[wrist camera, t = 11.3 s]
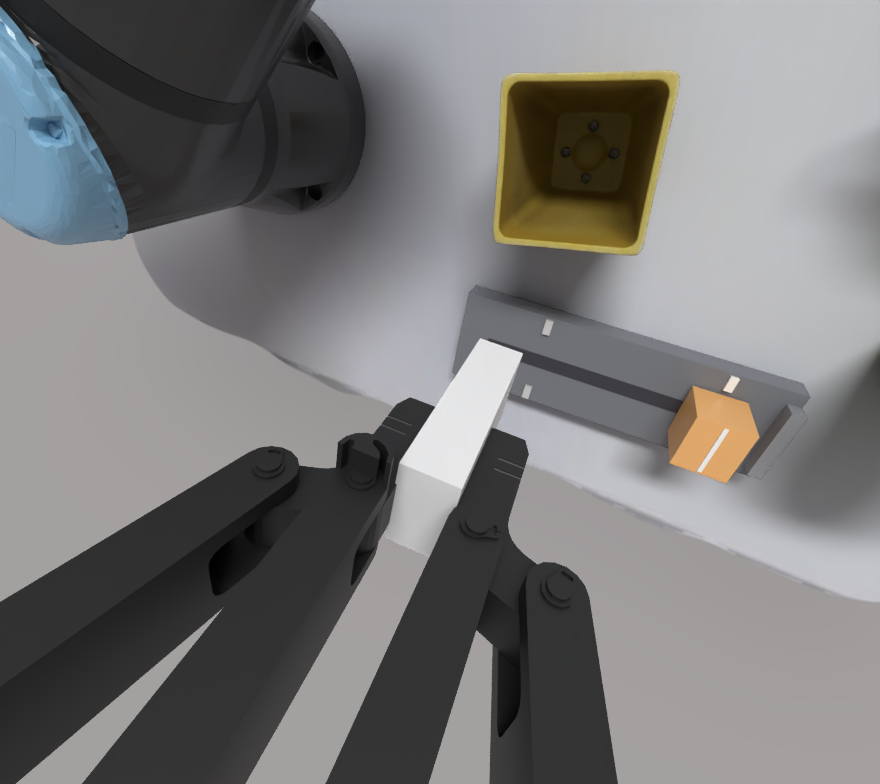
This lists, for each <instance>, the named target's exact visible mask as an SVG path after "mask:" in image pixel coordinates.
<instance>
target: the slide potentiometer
mask: <svg viewBox="0 0 880 784" xmlns="http://www.w3.org/2000/svg"><path fill="white" fill-rule="evenodd" d="M480 338H481V339H484V340H487V341H489V342H492V343H495V344H498V345H501V346H504V347H506V348H509V349H512V350H515V351H518V352H521V353H523V355H522V358H521V361H520V364H519V367H518V370H517V373H516V375H515V378H514V381H513V384H512V387H511V390H510V393H511V394H514V395H517V396H520V397H522V398H525V399H528V400H531V401H534V402H537V403H540V404H543V405H545V406H548V407H551V408H554V409H557V410H560V411H563V412H566V413H569V414H571V415H574V416H577V417H580V418H583V419H586V420H589V421H592V422H595V423H597V424H600V425H603V426H606V427H609V428H612V429H615V430H618V431H621V432H623V433H626V434H629V435H632V436H635V437H638V438H641V439H644V440H646V441H649V442H652V443H655V444H658V445H661V446H664V447H667V448H669V446H668V428H669V426H670V425H671V423H672V421H673V419H674V418H675V416H676V414H677V412H678V411H679V409H680V407H681V405H682V404H683V402H684V400H685V398H686V397H687V395H688V393H689V391H690V390H691V388H692V386H696V387H699V388H702V389H705V390H708V391H712V392H715V393H718V394H721V395H724V396H727V397H731V398H734V399H737V400H740V401H743V402H746V403H748V404H749V407H750V410H751V413H752V416H753V419H754V422H755V425H756V428H757V431H758V434H759V439H758V440H757V441H756V443H755V444H754V446H753V447H752V448H751V450H750V451H749V453H748V454H747V455H746V457H745V458H744V459H743V461H742V462H741V464H740V465H739V466H738V468H737V469H736V470H735V471H736V472H739V473H742V474H745V475H747V476H751V477H754V478H757V479H760V480H761V479H762V477H763V476H764V475H765V473H766V472H767V471H768V470H769V468H770V467H771V466H772V464H773V463H774V462H775V461H776V459H777V458H778V457H779V455H780V454H781V453H782V452H783V450H784V449H785V448H786V446H787V445H788V444H789V443H790V441H791V440H792V439H793V437H794V436H795V435H796V434H797V432H798V431H799V430H800V428H801V427H802V426H803V425H804V423H805V422H806V421H807V417H806V415H805V413H804V411H803V409H802V408H803V406H804V405H805V404H806V402H807V401H808V400H809V398H810V395H809V393H808V392H807V390H806V388H805V386H804V384H803V383H799V382H796V381H793V380H789V379H786V378H783V377H779V376H776V375H773V374H769V373H766V372H763V371H759V370H756V369H753V368H749V367H746V366H743V365H739V364H736V363H733V362H729V361H726V360H723V359H719V358H716V357H713V356H709V355H706V354H703V353H699V352H696V351H693V350H689V349H686V348H683V347H679V346H676V345H673V344H669V343H666V342H663V341H659V340H656V339H653V338H649V337H646V336H643V335H639V334H636V333H633V332H629V331H626V330H623V329H619V328H616V327H613V326H610V325H606V324H603V323H600V322H596V321H593V320H590V319H586V318H583V317H580V316H576V315H573V314H570V313H566V312H563V311H560V310H556V309H553V308H550V307H546V306H543V305H540V304H536V303H533V302H530V301H526V300H523V299H520V298H516V297H513V296H510V295H506V294H503V293H500V292H496V291H493V290H490V289H486V288H483V287H480V286H475V287H474V288H473V289H472V290H471V291H470V292H469V295H468V300H467V305H466V310H465V314H464V319H463V324H462V329H461V334H460V338H459V343H458V348H457V353H456V357H455V362H454V367H453V372H452V373H453V374H456V375H457V373H458V372H459V370H460V369H461V367H462V365H463V364H464V362H465V361H466V359H467V358H468V356H469V355H470V353H471V352H472V350H473V349H474V347H475V345H476V344H477V342H478V341H479V339H480Z"/></svg>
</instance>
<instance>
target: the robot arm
mask: <svg viewBox="0 0 880 784" xmlns="http://www.w3.org/2000/svg"><path fill="white" fill-rule="evenodd" d="M314 2H315V0H0V217H1V218H2V219H3V220H5V221H6V222H7V223H9V224H10V225H12V226H13V227H15V228H16V229H18V230H20V231H22V232H24V233H25V234H27V235H29V236H32V237H35V238H38V239H41V240H46V241H48V242H51V243H54V244H60V245H72V244H80V243H88V242H95V241H104V240H117V239H122V238H123V237H125V236H126V234H130V233H134V232H137V231H141V230H145V229H149V228H153V227H157V226H161V225H165V224H169V223H173V222H177V221H181V220H184V219H188V218H192V217H196V216H200V215H204V214H208V213H212V212H216V211H220V210H224V209H227V208H231V207H235V206H239V205H241V206H246V207H250V208H255V209H260V210H264V211H269V212H274V213H279V214H299V213H304V212H308V211H311V210H314V209H317V208H320V207H323V206H325V205H327V204H329V203H331V202H332V201H334V200H335V199H336V198H337V197H339V196H340V195H341V194H342V193H343V191H344V190H345V189H346V188H347V186H348V185H349V184H350V182H351V180H352V179H353V177H354V175H355V173H356V170H357V168H358V165H359V162H360V159H361V155H362V150H363V144H364V136H365V115H364V106H363V99H362V94H361V90H360V86H359V82H358V79H357V76H356V73H355V70H354V68H353V65H352V63H351V61H350V59H349V57H348V55H347V53H346V51H345V49H344V47H343V46H342V44H341V42H340V41H339V39H338V38H337V37H336V35H335V34H334V33H333V31H332V30H331V29H330V28H329V27H328V25H327V24H326V23H325V22H324V21H323V20H322V19H321V18H320V17H318V16H317V15H316V14H315V13H314V12H312V11H311V10H310V9H311V7H312V5H313V4H314ZM522 355H523V353H521V352H518V351H515V350H512V349H509V348H506V347H504V346H501V345H498V344H495V343H492V342H489V341H487V340H484V339H481V338H480V339H479V341H478V342H477V344H476V345H475V347H474V349H473V350H472V352H471V353H470V355H469V356H468V358H467V359H466V361H465V362H464V364H463V365H462V367H461V369H460V370H459V372H458V373H457V375H456V376H455V378H454V379H453V381H452V382H451V384H450V385H449V387H448V389H447V390H446V392H445V393H444V395H443V396H442V398H441V399H440V401H439V402H438V404H437V405H436V407H434V406H432V405H429V404H426V403H424V402H421V401H419V400H416V399H413V398H411V397H410V398H408V399H406V400H404V401H402V402H400V403H398V404H397V405H396V406H395V407H394V408H393V410H392V411H391V412H390V414H389V415H388V417H386V419H385V420H384V421H383V423H382V425H381V426H380V427H379V428H378V429H377V430H376V432H375V433H374V434H369V433H355V434H352V435H349V436H346V437H345V438H343V439H342V440H340V441H339V442H338V450H337V462H336V468H329V469H324V468H314V467H306V466H299V463H298V459H297V457H296V456H295V455H294V454H293V453H292V452H291V451H288V450H286V449H284V448H281V447H273V446H269V447H261V448H258V449H256V450H253V451H251V452H249V453H247V454H245V455H244V456H242V457H240V458H239V459H237V460H235V461H234V462H232V463H230V464H229V465H227V466H226V467H224V468H222V469H220V470H219V471H217V472H216V473H214V474H212V475H211V476H209V477H207V478H206V479H204V480H202V481H201V482H199V483H197V484H196V485H194V486H192V487H191V488H189V489H187V490H186V491H184V492H182V493H181V494H179V495H177V496H176V497H174V498H172V499H171V500H169V501H167V502H166V503H164V504H162V505H161V506H159V507H157V508H156V509H154V510H152V511H151V512H149V513H147V514H146V515H144V516H142V517H141V518H139V519H137V520H136V521H134V522H132V523H131V524H129V525H128V526H126V527H124V528H122V529H121V530H119V531H117V532H116V533H114V534H113V535H111V536H109V537H107V538H106V539H104V540H102V541H101V542H99V543H98V544H96V545H94V546H92V547H91V548H89V549H88V550H86V551H84V552H83V553H81V554H79V555H78V556H76V557H74V558H73V559H71V560H69V561H68V562H66V563H64V564H63V565H61V566H60V567H58V568H56V569H54V570H53V571H51V572H49V573H48V574H46V575H44V576H43V577H41V578H39V579H38V580H36V581H34V582H33V583H31V584H29V585H28V586H26V587H24V588H23V589H21V590H19V591H18V592H16V593H14V594H13V595H11V596H9V597H8V598H6V599H4V600H3V601H1V602H0V784H16V783H17V782H18V781H19V780H20V779H21V778H23V777H24V776H25V775H26V774H27V773H29V772H30V771H31V770H32V769H33V768H34V767H36V766H37V765H38V764H39V763H40V762H41V761H43V760H44V759H45V758H46V757H47V756H49V755H50V754H51V753H52V752H53V751H55V749H57V748H58V747H59V746H60V745H62V744H63V743H64V742H65V741H66V740H67V739H69V738H70V737H71V736H72V735H73V734H74V733H76V732H77V731H78V730H79V729H80V728H82V727H83V726H84V725H85V724H86V723H88V722H89V721H90V720H91V719H92V718H94V717H95V716H96V715H97V714H98V713H99V712H100V711H102V710H103V709H104V708H105V707H106V706H108V705H109V704H110V703H111V702H112V701H114V700H115V699H116V698H117V697H118V696H119V695H121V694H122V693H123V692H124V691H125V690H127V689H128V688H129V687H130V686H131V685H132V684H134V683H135V682H136V681H137V680H138V679H139V678H140V677H142V676H143V675H144V674H145V673H146V672H148V671H149V670H150V669H151V668H153V667H154V666H155V665H156V664H157V663H158V662H159V661H161V660H162V659H163V658H164V657H166V656H167V655H168V654H169V653H170V652H171V651H173V650H174V649H175V648H176V647H177V646H179V645H180V644H181V643H182V642H183V641H184V640H186V639H187V638H188V637H189V636H190V635H192V634H193V633H194V632H195V631H196V630H197V629H199V628H200V627H201V626H202V625H203V624H205V623H206V622H207V621H208V620H209V619H210V618H212V617H213V616H214V615H215V614H216V613H217V612H219V611H220V610H221V609H222V608H223V607H224V608H223V609H222V610H221V612H220V613H219V614H218V615H217V617H216V618H215V619H214V620H213V622H212V623H211V624H210V625H209V627H208V628H207V629H206V630H205V631H204V633H203V634H202V635H201V636H200V638H199V639H198V640H197V641H196V643H195V644H194V645H193V646H192V648H191V649H190V650H189V652H188V653H187V654H186V655H185V657H184V658H183V659H182V660H181V661H180V663H179V664H178V665H177V666H176V668H175V669H174V670H173V672H172V673H171V674H170V675H169V676H168V678H167V679H166V680H165V681H164V683H163V684H162V685H161V686H160V688H159V689H158V690H157V691H156V692H155V694H154V695H153V696H152V697H151V699H150V700H149V701H148V702H147V704H146V705H145V706H144V707H143V709H142V710H141V711H140V712H139V714H138V715H137V716H136V717H135V719H134V720H133V721H132V722H131V724H130V725H129V726H128V727H127V729H126V730H125V731H124V732H123V734H122V735H121V736H120V737H119V739H118V740H117V741H116V742H115V744H114V745H113V746H112V747H111V748H110V750H109V751H108V752H107V753H106V755H105V756H104V757H103V759H102V760H101V761H100V762H99V763H98V765H97V766H96V767H95V768H94V770H93V771H92V772H91V773H90V775H89V776H88V777H87V778H86V780H85V781H84V782H83V783H82V784H245V783H246V782H247V780H248V778H249V776H250V774H251V772H252V771H253V769H254V767H255V766H256V764H257V762H258V760H259V759H260V757H261V755H262V753H263V752H264V750H265V748H266V746H267V745H268V743H269V741H270V739H271V738H272V736H273V734H274V732H275V731H276V729H277V727H278V725H279V723H280V722H281V720H282V718H283V716H284V715H285V713H286V711H287V709H288V708H289V706H290V704H291V702H292V700H293V699H294V697H295V695H296V693H297V692H298V690H299V688H300V687H301V685H302V683H303V681H304V680H305V678H306V676H307V674H308V672H309V671H310V669H311V667H312V665H313V664H314V662H315V660H316V658H317V657H318V655H319V653H320V651H321V650H322V648H323V646H324V644H325V643H326V641H327V639H328V637H329V636H330V634H331V632H332V630H333V628H334V627H335V625H336V623H337V621H338V620H339V618H340V616H341V614H342V612H343V611H344V609H345V607H346V605H347V604H348V602H349V600H350V598H351V597H352V595H353V593H354V592H355V589H356V588H357V586H358V584H359V583H360V581H361V579H362V577H363V576H364V574H365V572H366V570H367V569H368V567H369V565H370V563H371V562H372V560H373V558H374V556H375V554H376V550H377V546H378V541H379V539H380V538H381V536H382V534H383V533H384V531H385V529H386V533H385V538H387V539H389V540H391V541H393V542H395V543H398V544H400V545H402V546H404V547H407V548H409V549H411V550H414V551H416V552H418V553H420V554H422V555H425V556H427V557H429V559H428V561H427V564H426V566H425V568H424V570H423V572H422V575H421V577H420V579H419V581H418V583H417V585H416V588H415V590H414V592H413V594H412V597H411V599H410V601H409V603H408V605H407V607H406V609H405V612H404V614H403V616H402V618H401V621H400V623H399V625H398V627H397V629H396V631H395V634H394V636H393V638H392V640H391V642H390V644H389V647H388V649H387V651H386V653H385V655H384V658H383V660H382V662H381V664H380V666H379V668H378V671H377V673H376V675H375V677H374V679H373V681H372V684H371V686H370V688H369V690H368V693H367V695H366V697H365V699H364V701H363V703H362V706H361V708H360V710H359V712H358V714H357V717H356V719H355V721H354V723H353V725H352V728H351V730H350V732H349V734H348V736H347V738H346V741H345V743H344V745H343V747H342V749H341V751H340V754H339V756H338V758H337V760H336V763H335V765H334V767H333V769H332V771H331V773H330V775H329V778H328V780H327V782H326V784H429V780H430V777H431V774H432V770H433V767H434V764H435V761H436V758H437V754H438V751H439V748H440V745H441V742H442V738H443V735H444V732H445V728H446V726H447V722H448V719H449V716H450V713H451V709H452V706H453V703H454V700H455V696H456V693H457V690H458V687H459V684H460V680H461V677H462V674H463V671H464V667H465V664H466V661H467V658H468V654H469V651H470V648H471V645H472V642H473V638H474V635H475V632H476V630H477V631H479V633H481V634H482V635H483V636H484V637H485V638H486V639H487V640H488V641H489V642H490V643H491V644H493V657H492V701H491V745H490V746H491V747H490V784H618V782H617V775H616V769H615V763H614V756H613V749H612V743H611V736H610V730H609V723H608V717H607V711H606V704H605V697H604V691H603V684H602V678H601V671H600V665H599V658H598V652H597V645H596V639H595V633H594V626H593V619H592V614H591V606H590V600H589V596H588V593H587V590H586V587H585V585H584V584H583V583H582V581H581V580H580V579H579V577H578V576H577V575H576V574H574V573H573V572H572V571H571V570H569V569H568V568H567V567H565V566H562V565H559V564H556V563H550V562H549V563H548V562H543V563H541V564H538V565H537V564H536V563H535V562H533V561H532V560H531V559H529V558H528V557H527V556H525V555H524V554H523V553H522V552H521V551H520V550H519V549H518V548H517V547H516V545H515V544H514V543H513V541H512V539H511V537H510V534H509V530H508V521H509V516H510V513H511V510H512V506H513V503H514V500H515V497H516V493H517V490H518V487H519V484H520V480H521V477H522V474H523V471H524V468H525V465H526V461H527V458H528V455H529V453H528V449H527V445H526V441H525V440H523V439H521V438H518V437H516V436H513V435H510V434H508V433H505V432H502V431H500V430H497V429H496V427H497V425H498V423H499V420H500V418H501V416H502V413H503V410H504V407H505V404H506V401H507V398H508V396H509V393H510V390H511V387H512V384H513V381H514V378H515V375H516V373H517V370H518V367H519V364H520V361H521V358H522ZM386 527H387V528H386Z"/></svg>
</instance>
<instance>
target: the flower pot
mask: <svg viewBox="0 0 880 784" xmlns="http://www.w3.org/2000/svg"><path fill="white" fill-rule="evenodd" d="M679 84H680V77H679V74H678V73H677V72H675V71H670V70H657V71H624V72H590V73H515V74H509V75H507V76H506V77H504V79H503V81H502V84H501V96H500V128H499V153H498V169H497V183H496V196H495V209H494V220H493V237H494V241H495V242H496V243H500V244H508V245H521V246H533V247H545V248H555V249H566V250H575V251H587V252H596V253H607V254H617V255H637V254H639V253H640V251H641V250H642V248H643V245H644V240H645V236H646V230H647V226H648V221H649V216H650V212H651V207H652V203H653V198H654V194H655V189H656V185H657V181H658V176H659V172H660V167H661V163H662V158H663V154H664V150H665V145H666V141H667V137H668V133H669V129H670V125H671V121H672V117H673V113H674V108H675V104H676V100H677V95H678V90H679ZM593 121H596V122H597V123H598V128H597V129H596V130H595V131H592V130H590V128H589V126H590V123H591V122H593ZM566 147H567V148H569V149H570V154H569V155H568V156H564V155H563V154H562V150H563V149H564V148H566ZM613 149H617V150H618V152H619V154H618V156H617V157H616V158H611V157H610V152H611V150H613ZM584 174H589V176H590V180H589V181H588V182H583V181H582V176H583V175H584Z"/></svg>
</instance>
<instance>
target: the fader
mask: <svg viewBox="0 0 880 784" xmlns="http://www.w3.org/2000/svg"><path fill="white" fill-rule="evenodd" d="M758 439H759V434H758V431H757V428H756V425H755V422H754V419H753V416H752V413H751V410H750V407H749V404H748V403H746V402H743V401H740V400H737V399H734V398H731V397H727V396H724V395H721V394H718V393H715V392H712V391H708V390H705V389H702V388H699V387H696V386H692V388H691V390H690V391H689V393H688V395H687V397H686V398H685V400H684V402H683V404H682V405H681V407H680V409H679V411H678V412H677V414H676V416H675V418H674V419H673V421H672V423H671V425H670V426H669V428H668V446H669V463H670V464H673V465H676V466H679V467H681V468H684V469H687V470H690V471H693V472H696V473H698V474H701V475H704V476H707V477H710V478H713V479H715V480H718V481H721V482H724V483H727V482H728V480H729V479H730V477H731V476H732V475H733V473H734V472H735V470H736V469H737V468H738V466H739V465H740V464H741V462H742V461H743V459H744V458H745V457H746V455H747V454H748V453H749V451H750V450H751V448H752V447H753V446H754V444H755V443H756V441H757V440H758Z"/></svg>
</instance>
